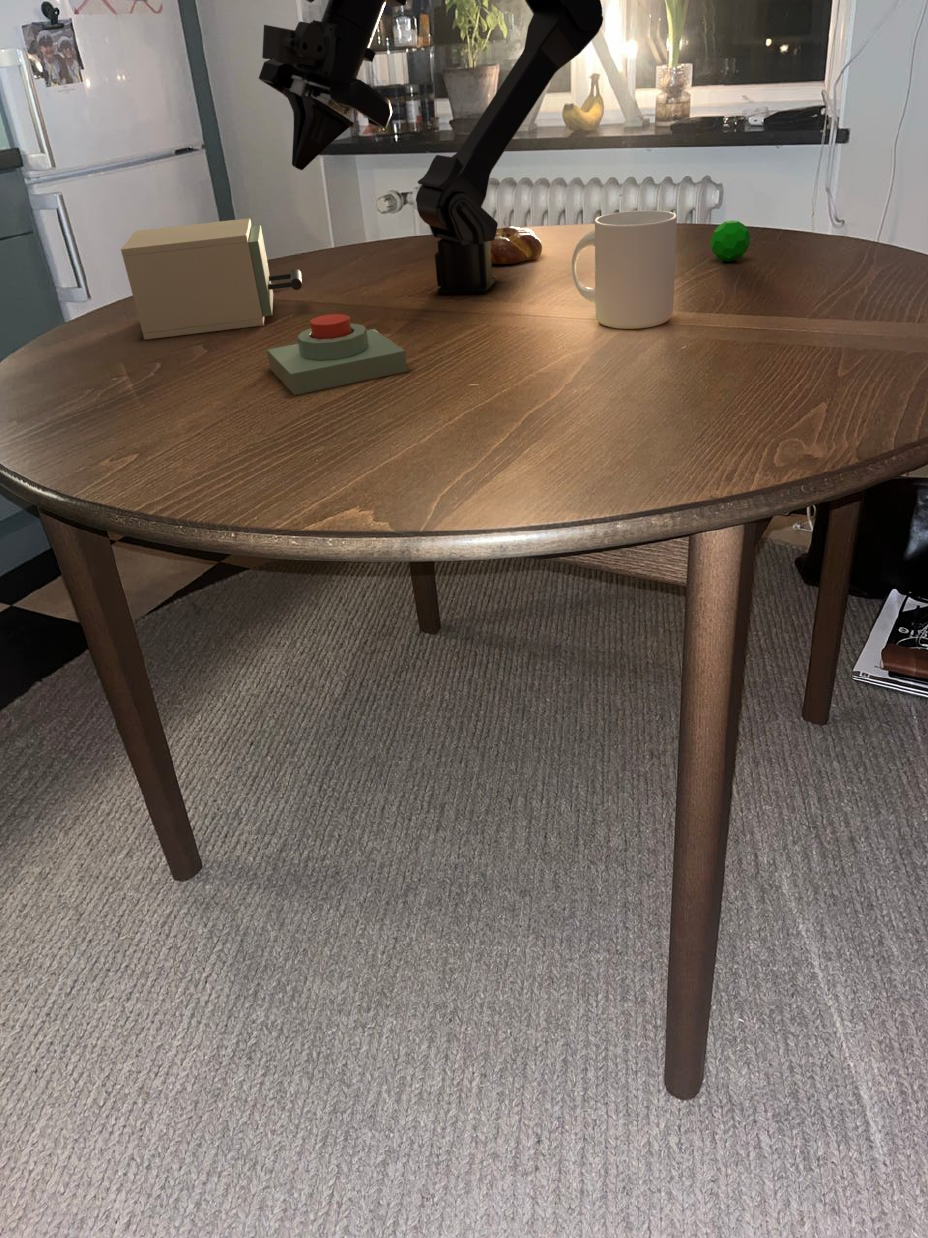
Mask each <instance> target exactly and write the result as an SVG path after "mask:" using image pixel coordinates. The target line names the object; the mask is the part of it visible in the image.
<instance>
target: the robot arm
mask: <svg viewBox="0 0 928 1238" xmlns="http://www.w3.org/2000/svg"><path fill="white" fill-rule="evenodd" d="M306 1H307V2H308V3H309V4H312V3H313V2H315V0H306ZM524 2H525V3H526V5H527V6H528V8H529V9H530V12H531V13H532V17H531V18H530V21H529V23H528V26H527V30H526V36H525V41H524V47H523V50H522V53H521V54H520V55H519V57H518V59H517V60H516V62H515V63H514V64H513V66H512V68H511V70H510V71H509V72H508V74H507V75H506V77H505V78H504V80H503V82H502V83H501V85H500V86H499V88H498V90H497V91H496V92H495V94H494V96H493V97H492V99H491V101H490V102H489V103H488V105H487V106H486V108H485V110H484V111H483V113H482V115H481V116H480V117H479V120H477V122H476V124H475V125H474V126H473V128H472V131H471V132H470V133H469V135H468V136H467V138H466V139H465V141H464V143H463V144H462V146H461V147H460V149H458V151H457V152H456V153H455V154H453V155H452V156H447V155H441V154H436V155H435V156H434V158H433V159H432V161H431V163H430V166H428V167H429V168H428V169H427V172H426V173H425V174H424V176H423V177H421V178H420V179H419V180H417V184H418V185H420V187H419V188H418V191H417V193H416V196H415V202H416V210H417V212H418V215H419V217H420V219H421V220H422V221H423V222H424V223H425V224H427V225H428V227H429V229H430V232H431V233H432V236H433V237H434V238H437V239H438V238H439V240H438V241H437V252H436V253H435V254H434V262H435V274H436V284H437V286H438V287H439V288H438V289H437V294H439V295H441V294H443V295H444V294H446V295H447V294H484V293H486V292H488V291H489V290H490V289H491V288H492V287H493V285H494V284H496V282H497V277H493V266H492V265H493V264H491V248H490V241H493V240H494V239H495V235H496V233H497V232H498V231H497V230H498V227H499V226H498V225H499V223H498V221H497V220H495V219H494V217H492V215H490V214H489V213H488V211H486V210H485V209H484V208H483V207H482V206H483V205H484V202H485V200H486V198H487V193H488V188H489V183H490V177H491V173H492V171H493V169H494V168H495V166H496V165H497V163H498V162H499V161H500V159H501V158H502V156H503V154H504V153H505V151H506V150H507V148H508V146H509V145H510V144H511V142H512V140H513V139H514V137H515V136H516V135H517V132H518V131H519V129H520V128H521V127H522V125H523V124H524V122H525V121H526V119H527V117H528V116H529V114H530V113H531V111H532V109H533V108H534V106H535V105H536V103H538V101H539V99H540V97H541V96H542V94H543V93H544V91H545V90H546V88H547V87H548V85H549V83H550V82H551V81H552V79H553V78H554V76H555V75H556V74H557V72H558V71H559V70H561V69H562V68H563V67H564V66H565V65H567V64H568V63H569V62H571V61H572V60H573V59H574V58H576V57H577V56H579V55H580V54H581V53H582V52H583V51H584V50H585V49H586V47H587V46H588V45H589V44H590V43H591V42H592V41H593V39H595V37H596V36H597V35H598V34H599V32H600V30H601V28H602V26H603V22H604V16H603V5H602V1H601V0H524ZM407 3H408V0H328V1H327V4H326V7H325V10H324V13H323V15H322V18H321V20H320V21H319V20H315V19H313V20H312V21H310V22H307V21H306V22H305V21H298V23H297V25H296V28H295V29H290V28H286V27H285V28H284V27H279V26H273V25H268V24H263V35H262V55H261V57H262V59H264V60H265V61H263V64H262V67H261V70H260V72H259V77H258V80H259V81H261V82H262V83H264V84H266V85H267V86H270V87H271V88H272V89H273V90H275V91H277V92H278V93H280V94H282V95H283V96H284V97H285V98H287V100H288V103H289V105H290V107H291V110H292V112H293V134H292V153H291V165H292V167H293V168H296V169H297V170H300V171H303V170H305V169H306V168H307V166H309V165H310V164H311V163H312V162H313V161H314V159H316V158H317V157H318V156H319V155H320V154H321V153H322V152H323V151H324V150H325V149H326V148H327V147H328V146H329V145H330V144H332V143H333V142H334V141H335V140H336V139H338V138H339V137H340V136H341V135H342V134H343V133H345V131H347V130H348V129H353V128H354V127H355V125H356V124H355V122H353V120H351V119H352V116H353V113H354V111H357V112H358V113H359V114H361V115H362V116H363V117H365V118H367V122H368V124H369V125H371V126H372V127H375V128H380V129H383V130H387V127H388V126H389V123H390V120H391V117H392V114H393V109H392V105H391V100H390V99H389V98H387V97H386V96H385V95H383V94H382V93H380V92H379V91H378V90H376V89H374V88H373V87H371V86H370V85H369V84H368V83H366V82H364V81H363V80H361V79H359V76H360V74H361V71H362V69H363V66H364V63H365V62H369V63H373V61H374V59H375V56H376V54H377V53H376V51H374V50H372V49H371V48H370V47H371V44H372V42H373V39H374V36H375V34H376V30H377V28H378V25H379V22H380V19H381V16H382V14H383V12H384V8H385V6H386V4H387V5H388V6H389V7H391V8H398V7H403V6H406V5H407Z"/></svg>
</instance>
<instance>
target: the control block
mask: <svg viewBox="0 0 928 1238" xmlns="http://www.w3.org/2000/svg"><path fill="white" fill-rule="evenodd" d="M350 325H351V332H352V333H351V334H349V335H347V336H344V337H339V338H333V339H314V338H313V337H312V331H311V327H310V328H308V329H305V330H302V331H301V332H300V333H299V334H298V335H297V337H296V339H297V343H294V344H288V345H284V346H279V347H273V348H268V349H266V353H267V358H268V364H269V368H270V369H269V370H270V371H271V372H272V373H273V374H274V375H275V376H276V377H277V378H278V379H279V381H280V382H282V384H283V385H284V386H285V387H286V388H287V389H288V390H289V391H290V392H291V393H292V395H293V396H298V395H303V394H307V393H311V392H317V391H322V390H326V389H327V390H328V389H331V388H335V387H341V386H345V385H350V384H355V383H360V382H364V381H369V380H375V379H378V378H383V377H387V376H393V375H397V374H402V373H406V372H408V364H407V355H406V350H405V349H403V348H402V347H401V346H399V345H398V344H396V343H395V342H393V341H392V340H391V339H389V338H387V337H386V336H384V335H383V334H381V333H380V332H379V331H377V330H376V329H374V328H371V329H367V328H366V327H365V326H364V325H362V324H358V323H353V322H352V323H351V322H350Z"/></svg>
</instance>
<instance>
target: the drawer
mask: <svg viewBox="0 0 928 1238" xmlns="http://www.w3.org/2000/svg"><path fill="white" fill-rule="evenodd" d="M248 243H249V249H250V254H251V259H252V264H253V269H254V275H255V280H256V285H257V290H258V296H259V301H260V306H261V311H262V316H263V317H264V318H265V317H272V316H273V309H274V307H273V306H274V290H278V289H285V288H287V289H288V288H292V290H294V291H299V290H300V289H302V287H303V278H302V271H300V269H298V268H294V269H292V270H291V271H290V272H287V273H278V274H271V275H270V269H269V264H268V258H267V253H266V247H265V241H264V236H263V231H262V225H260V224H259V225H251V231H250V236H249V242H248ZM282 280H283V281H282ZM284 280H290V281H284ZM274 281H281V282H274ZM272 282H274V283H272Z"/></svg>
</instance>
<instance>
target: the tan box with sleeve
mask: <svg viewBox="0 0 928 1238" xmlns="http://www.w3.org/2000/svg"><path fill="white" fill-rule="evenodd" d="M251 226H252V221H251V218H250V217H247V218H239V219H229V220H220V221H212V222H203V223H194V224H193V223H192V224H184V225H176V226H166V227H157V228H149V229H141V230H135V231H134V232H133V233H132V235H131V236H130V237H129V238H128V239H127V241H126V242H125V243H124V245H123V246H122V247H121V248H120V251H121V257H122V259H123V263H124V267H125V271H126V275H127V278H128V282H129V286H130V290H131V294H132V298H133V301H134V306H135V309H136V313H137V317H138V320H139V324H140V329H141V332H142V336H143V340H144V341H147V340H155V339H164V338H171V337H179V336H187V335H196V334H204V333H211V332H212V333H213V332H221V331H228V330H237V329H245V328H246V329H247V328H254V327H261V326H262V327H263V326H265V317H263V316H262V311H261V306H260V301H259V296H258V290H257V285H256V280H255V275H254V269H253V264H252V259H251V254H250V249H249V243H248V242H249V236H250V231H251Z"/></svg>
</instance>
